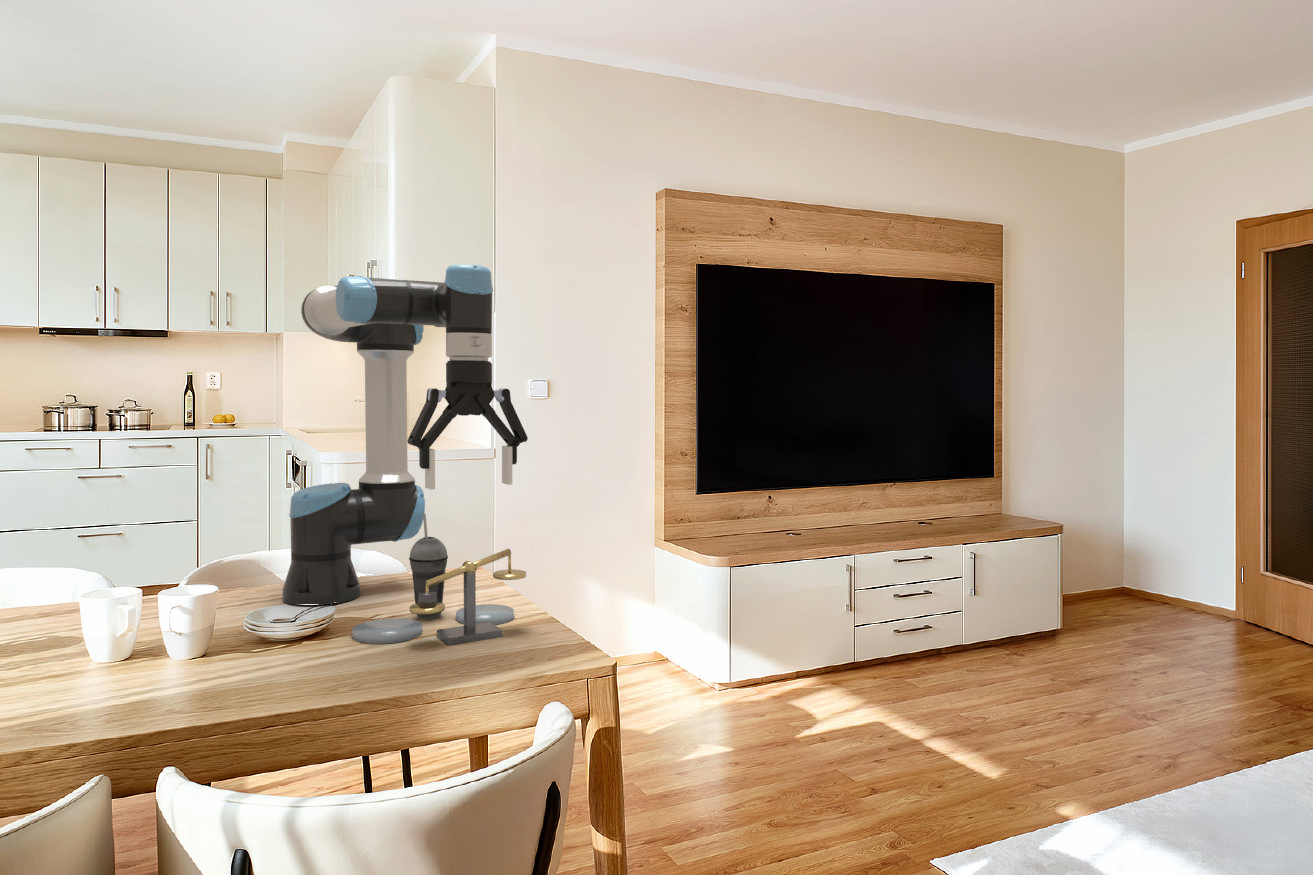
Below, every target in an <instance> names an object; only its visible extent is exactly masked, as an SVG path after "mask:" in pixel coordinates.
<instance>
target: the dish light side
mask: <svg viewBox="0 0 1313 875" xmlns="http://www.w3.org/2000/svg"><path fill="white" fill-rule="evenodd" d="M514 618H515V610H514V608H513V607H511V606H508V605H503V604H494V603H488V604H486V603H484V604H476V624H478V623H485V622H491V623H492V624H494V625H496V626H497V625H502V624H505V623H509V622H511V621H513V619H514ZM455 621H456V622H457V623H459V624H462V625H464V607H462V608H460V609H457V611H455Z"/></svg>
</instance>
